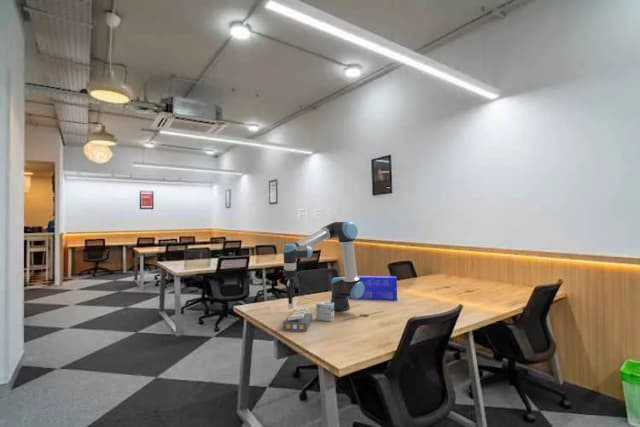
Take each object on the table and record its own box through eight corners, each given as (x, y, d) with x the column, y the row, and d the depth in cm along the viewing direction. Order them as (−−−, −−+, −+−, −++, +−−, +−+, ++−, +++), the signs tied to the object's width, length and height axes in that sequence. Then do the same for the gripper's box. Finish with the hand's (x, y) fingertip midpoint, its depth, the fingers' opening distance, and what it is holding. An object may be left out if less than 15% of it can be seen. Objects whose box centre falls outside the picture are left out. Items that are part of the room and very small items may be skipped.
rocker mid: (306, 312, 204) (305, 309, 204) (304, 314, 200) (304, 311, 201) (292, 315, 206) (291, 312, 206) (290, 317, 202) (290, 314, 202)
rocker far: (307, 309, 211) (307, 306, 211) (306, 311, 207) (306, 308, 207) (294, 312, 212) (294, 309, 212) (293, 314, 208) (292, 311, 208)
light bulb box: (334, 318, 218) (334, 302, 218) (331, 321, 211) (331, 304, 211) (319, 317, 221) (319, 301, 221) (316, 320, 215) (316, 303, 215)
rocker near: (304, 316, 198) (303, 312, 198) (302, 318, 194) (302, 314, 194) (289, 318, 199) (289, 315, 199) (288, 320, 195) (287, 317, 195)
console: (312, 321, 212) (312, 311, 212) (306, 331, 192) (306, 321, 192) (291, 320, 214) (291, 311, 214) (283, 330, 194) (283, 320, 194)
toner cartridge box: (396, 298, 273) (396, 276, 274) (397, 300, 265) (396, 277, 265) (350, 296, 281) (350, 275, 281) (349, 298, 272) (349, 276, 273)
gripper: (286, 267, 205) (287, 305, 205) (281, 271, 192) (282, 311, 192) (298, 267, 204) (299, 305, 203) (293, 271, 191) (294, 312, 191)
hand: (290, 308), depth 198 cm, fingers closed
